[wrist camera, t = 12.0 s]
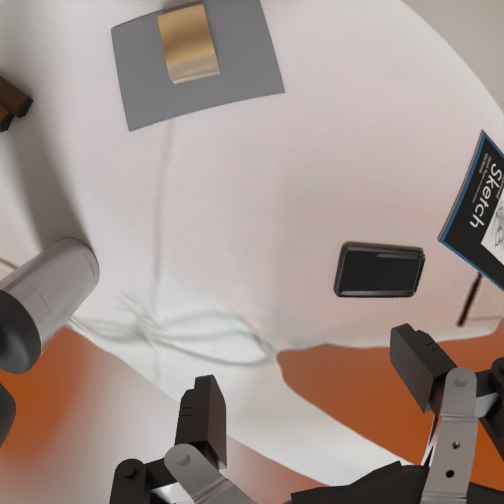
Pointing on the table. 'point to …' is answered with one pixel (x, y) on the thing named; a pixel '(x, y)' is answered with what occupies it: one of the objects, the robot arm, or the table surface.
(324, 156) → the table surface
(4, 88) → the ridged wooden panel
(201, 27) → the block
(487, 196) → the sketchbook
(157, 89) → the mat
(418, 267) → the phone
